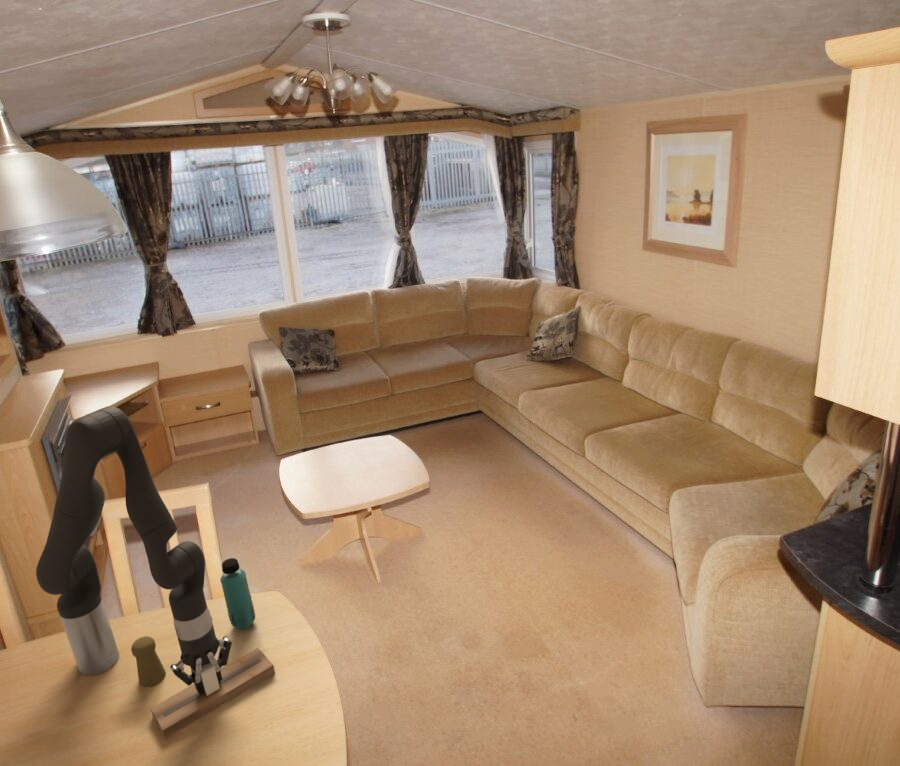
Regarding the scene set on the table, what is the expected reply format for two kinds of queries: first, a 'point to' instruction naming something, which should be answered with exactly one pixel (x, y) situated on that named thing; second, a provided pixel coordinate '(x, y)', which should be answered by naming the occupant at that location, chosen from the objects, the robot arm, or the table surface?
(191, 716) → the console track
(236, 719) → the table surface
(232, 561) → the beverage bottle
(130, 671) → the table surface
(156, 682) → the cork
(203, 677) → the fader tab
